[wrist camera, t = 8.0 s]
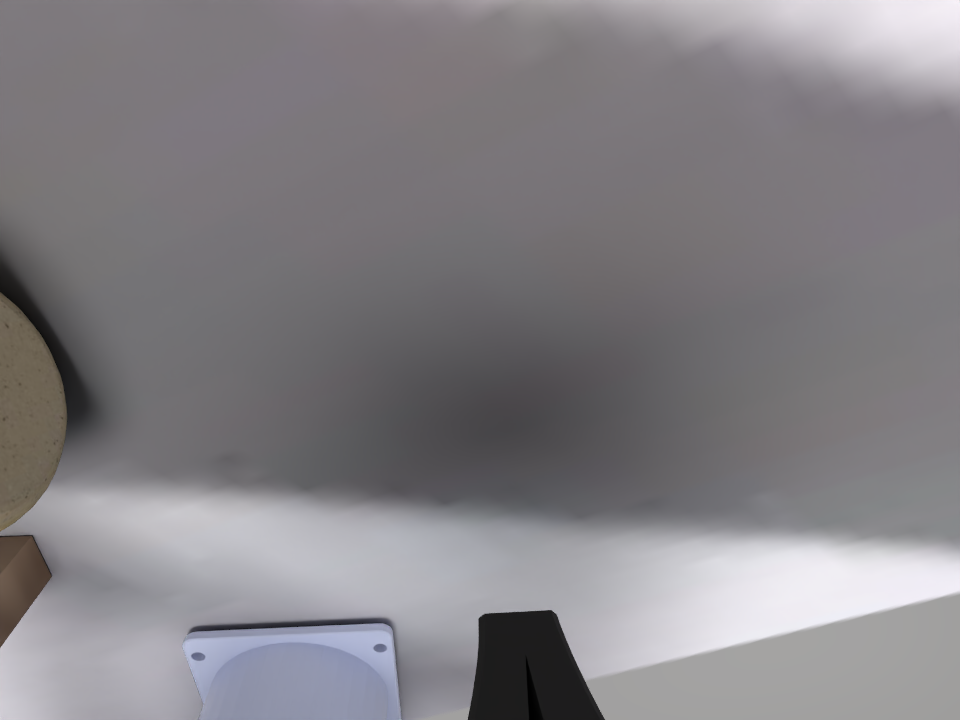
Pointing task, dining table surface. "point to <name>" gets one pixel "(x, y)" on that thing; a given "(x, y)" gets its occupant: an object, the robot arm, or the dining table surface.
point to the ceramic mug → (27, 414)
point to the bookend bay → (19, 580)
